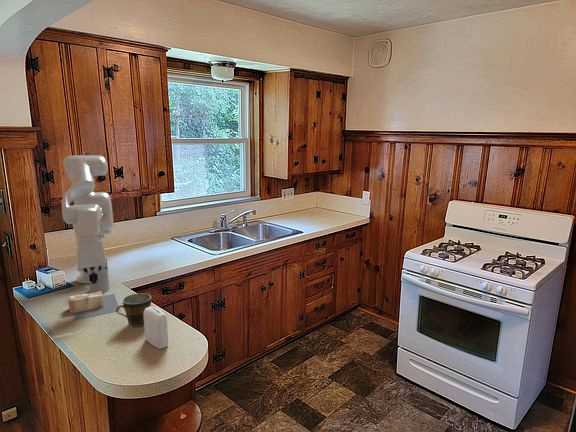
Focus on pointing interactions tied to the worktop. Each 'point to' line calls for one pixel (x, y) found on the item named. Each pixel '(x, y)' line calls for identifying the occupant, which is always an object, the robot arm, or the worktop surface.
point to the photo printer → (155, 327)
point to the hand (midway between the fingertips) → (93, 282)
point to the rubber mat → (109, 307)
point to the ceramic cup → (135, 308)
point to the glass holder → (100, 281)
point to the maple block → (85, 302)
